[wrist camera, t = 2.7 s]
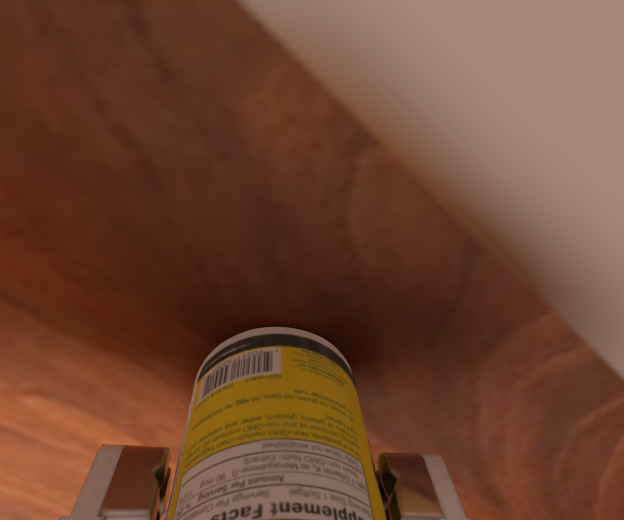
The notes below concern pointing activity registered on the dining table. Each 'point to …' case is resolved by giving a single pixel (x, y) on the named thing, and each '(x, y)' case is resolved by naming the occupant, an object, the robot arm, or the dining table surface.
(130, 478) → the robot arm
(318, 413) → the supplement bottle
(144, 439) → the dining table surface
